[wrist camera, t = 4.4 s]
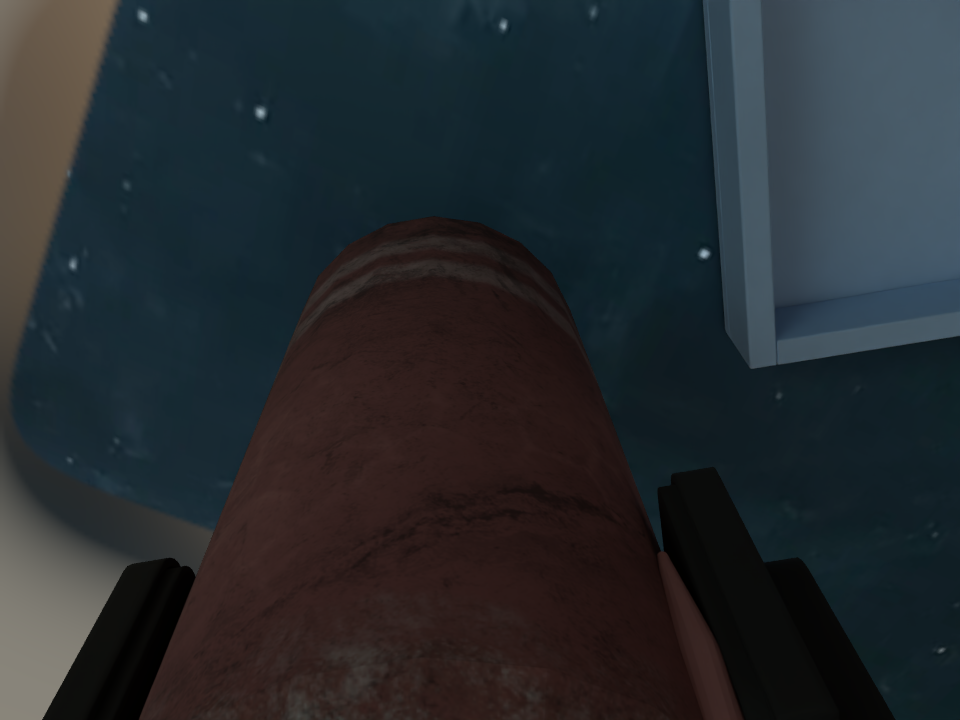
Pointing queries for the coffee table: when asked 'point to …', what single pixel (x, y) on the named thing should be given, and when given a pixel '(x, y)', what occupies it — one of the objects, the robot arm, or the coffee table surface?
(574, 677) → the can
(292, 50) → the coffee table surface
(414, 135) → the coffee table surface
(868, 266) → the blue tray
